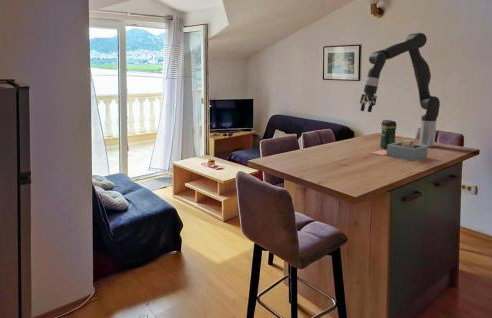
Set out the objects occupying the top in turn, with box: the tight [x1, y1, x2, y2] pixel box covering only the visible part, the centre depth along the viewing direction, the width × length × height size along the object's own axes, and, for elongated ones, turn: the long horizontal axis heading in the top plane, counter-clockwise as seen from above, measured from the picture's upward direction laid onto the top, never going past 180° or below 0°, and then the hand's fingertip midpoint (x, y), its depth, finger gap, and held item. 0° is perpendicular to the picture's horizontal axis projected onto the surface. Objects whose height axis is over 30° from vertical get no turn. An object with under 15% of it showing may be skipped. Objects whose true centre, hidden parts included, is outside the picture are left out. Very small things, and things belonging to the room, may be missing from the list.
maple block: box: [400, 139, 415, 148], centre depth 245 cm, size 5×5×7 cm
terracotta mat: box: [369, 149, 387, 157], centre depth 257 cm, size 12×9×1 cm
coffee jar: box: [379, 119, 397, 150], centre depth 270 cm, size 10×8×19 cm
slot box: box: [386, 141, 429, 162], centre depth 246 cm, size 14×18×7 cm
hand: (365, 111), depth 255 cm, fingers open, 8 cm apart
